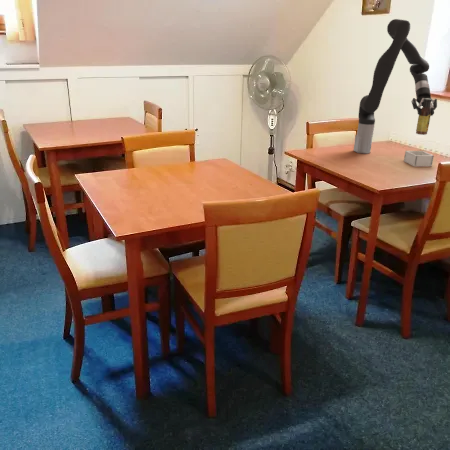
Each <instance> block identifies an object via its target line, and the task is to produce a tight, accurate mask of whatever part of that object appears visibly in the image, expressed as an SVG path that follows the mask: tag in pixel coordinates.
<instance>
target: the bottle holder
mask: <svg viewBox="0 0 450 450" xmlns="http://www.w3.org/2000/svg"><path fill="white" fill-rule="evenodd" d="M434 157H435V156H434V154H432V153H429V152H427V151H424V150H405V151H404V158H403V162H404V163H406V164H409V165H411V166H412V167H432V166H433V162H434Z"/></svg>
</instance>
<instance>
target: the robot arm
mask: <svg viewBox="0 0 450 450" xmlns="http://www.w3.org/2000/svg"><path fill="white" fill-rule="evenodd" d="M386 30H387V31H386V32H387V34H388V35H389V37H390V38H391V39H392V43H391V44H390V46H389V47H388V48H387V49H386V51H384V52H383V53H382V54H381V56H380V57H379V59H378V61H377V63H376V66H375V68H374V70H373V76H372V77H373V78H372V85H371V87H370V88H371V89H370V91H369V93H368V94H367V95H364V96H363V97H361V100H360V102H359V108H358V123H357V124H358V125H357V131H356V135H355V137H354V143H353V151H354V152H356V153H357V154H370V153H371V150H372V143H373V137H374V130H375V124H376V118H375V112H376V111H377V110H378V108H380V104H381V100H382V97H383V93H384V90H385V88H386V85H387V83H388V82H389V79H390V76H391V74H392V72H393V69H394V66H395V64H396V61H397V59H398V56H399V54H400V52H402V53H403V54H404V56H405V58H406V60H407V62H408V64H409V65H410V67H409V73H410V74H411V76H412V78H413V81H414V87H415V88H414V89H415V97H416V98H414V97H413V98H412V100H411V105H412V107H413V110H416V111H417V115H418V116H419V115H421V113H422V112H421V108H422V107H423V103H424V102H423V100H424V99H426V98H427V99H431V103H430V110H431V116H430V117H433V116H434V114H435V110H436V108H437V107H438V99H437V98H435V99H433V98H432V96H431V89H430V85H429V80H428V74H427V72H428V71H429V70H430V64H429V62H428V60H427V59H425V58H424V57H423V56H422V55H421V54H420V52H419V50H418V48H417V47H416V45H414V43H413V42H411V40H410V39H409V38H408V35H409V34H410V30H411V23H410V21H409V20H406V19H400V18H394V19H392V20H390V21H389V22H388V24H387V28H386ZM417 103H418V104H417Z"/></svg>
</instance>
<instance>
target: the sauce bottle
mask: <svg viewBox="0 0 450 450" xmlns="http://www.w3.org/2000/svg"><path fill="white" fill-rule="evenodd" d="M431 99H432V98H431ZM431 99H427V98H426V99H424V100H423V102H424V103H423V106H421V107H420V108H421V112H422V113H421V115H419V114H418V117H417V124H416V129H415V131H416V132H415V134H416V135H424V136H426V135H427V134H428V131H429V127H430V121H431V117H432V116H431V110H430V103H432V102H431Z"/></svg>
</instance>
